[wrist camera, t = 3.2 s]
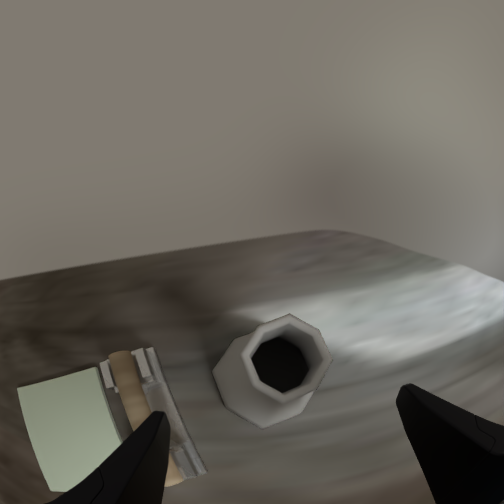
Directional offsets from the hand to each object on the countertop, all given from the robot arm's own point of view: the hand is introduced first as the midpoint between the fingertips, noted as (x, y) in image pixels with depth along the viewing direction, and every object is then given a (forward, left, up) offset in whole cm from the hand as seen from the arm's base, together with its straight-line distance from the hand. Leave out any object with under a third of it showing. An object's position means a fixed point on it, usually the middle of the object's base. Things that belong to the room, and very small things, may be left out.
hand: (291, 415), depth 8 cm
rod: (-6, +5, -7) cm, 11 cm away
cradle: (-6, +5, -9) cm, 12 cm away
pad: (-13, +9, -9) cm, 19 cm away
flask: (+2, +1, -10) cm, 10 cm away
